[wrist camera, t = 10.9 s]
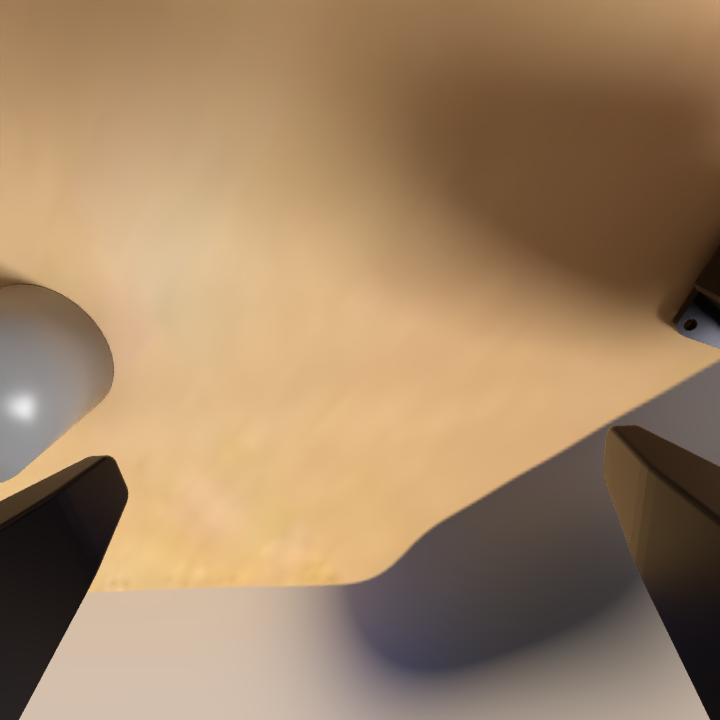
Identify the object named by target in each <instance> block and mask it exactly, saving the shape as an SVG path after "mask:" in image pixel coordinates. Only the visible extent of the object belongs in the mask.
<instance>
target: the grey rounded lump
mask: <svg viewBox="0 0 720 720" xmlns="http://www.w3.org/2000/svg"><path fill="white" fill-rule="evenodd" d="M113 376H114V363H113V358H112V354H111V351H110V348H109V345H108V343H107V341H106V339H105V337H104V335H103V333H102V332H101V330H100V329H99V327H98V326H97V325H96V323H95V322H94V321H93V320H92V319H91V317H90V316H89V315H88V314H87V313H86V312H85V311H83V310H82V309H81V308H80V307H79V306H78V305H76V304H75V303H74V302H72V301H71V300H69V299H68V298H66V297H64V296H63V295H61V294H59V293H56V292H54V291H52V290H49V289H46V288H43V287H39V286H35V285H27V284H17V285H10V286H5V287H3V288H0V483H1V482H4V481H7V480H9V479H11V478H13V477H14V476H16V475H17V474H18V473H20V472H21V471H22V470H23V469H24V468H25V467H27V466H28V465H29V464H30V463H31V462H32V461H33V460H35V459H36V458H37V457H38V456H39V455H40V454H41V453H43V452H44V451H45V450H46V449H47V448H48V447H50V446H51V445H52V444H53V443H54V442H55V441H56V440H58V439H59V438H60V437H61V436H62V435H63V434H65V433H66V432H67V431H68V430H69V429H70V428H71V427H73V426H74V425H75V424H76V423H77V422H78V421H79V420H81V419H82V418H83V417H84V416H85V415H86V414H88V413H89V412H90V411H91V410H92V409H93V408H94V407H96V406H97V405H98V404H99V403H100V402H101V401H102V400H103V399H104V398H105V397H106V395H107V394H108V392H109V390H110V388H111V385H112V382H113Z"/></svg>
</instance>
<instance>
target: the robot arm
mask: <svg viewBox="0 0 720 720" xmlns="http://www.w3.org/2000/svg"><path fill="white" fill-rule="evenodd" d="M690 319H692V323H691V324H690V325H689V326H687V327H684V323H685V322H686V321H687V320H690ZM672 324H673V328H674V330H676V331H677V332H678V333H679V334H681V335H683V336H685V337H688V338H691V339H694V340H696V341H699V342H702V343H705V344H708V345H711V346H713V347H716V348H719V349H720V246H719V248H718V249H717V251H716V252H715V254H714V255H713V257H712V258H711V260H710V261H709V263H708V264H707V265H706V267H705V268H704V270H703V271H702V273H701V274H700V276H699V277H698V279H697V280H696V286H695V288H694V289H693V290H692V292H691V293H690V295H689V296H688V298H687V299H686V301H685V302H684V304H683V305H682V307H681V308H680V310H679V311H678V313H677V314H676V316H675V317H674V319H673V322H672ZM604 477H605V481H606V484H607V487H608V490H609V492H610V495H611V498H612V501H613V504H614V507H615V510H616V512H617V515H618V518H619V521H620V524H621V526H622V529H623V532H624V535H625V538H626V541H627V544H628V547H629V550H630V552H631V554H632V558H633V560H634V563H635V565H636V567H637V570H638V572H639V574H640V576H641V579H642V581H643V583H644V585H645V587H646V589H647V591H648V593H649V595H650V597H651V599H652V601H653V603H654V605H655V607H656V609H657V611H658V614H659V616H660V617H661V619H662V622H663V624H664V626H665V628H666V630H667V632H668V634H669V636H670V638H671V640H672V642H673V644H674V646H675V648H676V650H677V653H678V654H679V657H680V659H681V661H682V663H683V665H684V667H685V669H686V671H687V673H688V675H689V677H690V679H691V681H692V683H693V685H694V687H695V689H696V691H697V694H698V696H699V698H700V700H701V702H702V704H703V706H704V708H705V710H706V712H707V714H708V716H709V718H710V720H720V467H719V466H717V465H715V464H713V463H711V462H709V461H707V460H705V459H703V458H701V457H699V456H697V455H695V454H693V453H691V452H689V451H687V450H685V449H683V448H681V447H679V446H677V445H675V444H673V443H671V442H669V441H667V440H665V439H663V438H661V437H659V436H657V435H655V434H653V433H651V432H649V431H647V430H645V429H643V428H642V427H639V426H637V425H620V426H611V427H610V428H609V429H608V431H607V434H606V446H605V455H604ZM127 500H128V489H127V486H126V484H125V481H124V479H123V477H122V474H121V472H120V470H119V467H118V465H117V463H116V461H115V459H114V458H113V457H111V456H108V455H106V456H91V457H87V458H85V459H83V460H81V461H79V462H77V463H75V464H73V465H71V466H69V467H67V468H65V469H63V470H61V471H59V472H57V473H55V474H53V475H51V476H49V477H47V478H46V479H44V480H42V481H40V482H38V483H36V484H34V485H32V486H30V487H28V488H26V489H24V490H22V491H20V492H18V493H16V494H14V495H12V496H10V497H8V498H6V499H4V500H2V501H0V720H19V719H20V717H21V715H22V713H23V711H24V709H25V707H26V705H27V704H28V702H29V700H30V698H31V696H32V694H33V692H34V691H35V689H36V687H37V685H38V683H39V681H40V679H41V677H42V676H43V673H44V672H45V670H46V668H47V666H48V664H49V662H50V660H51V659H52V657H53V655H54V653H55V651H56V649H57V647H58V646H59V643H60V642H61V640H62V638H63V636H64V634H65V632H66V631H67V629H68V627H69V625H70V623H71V621H72V619H73V617H74V616H75V614H76V612H77V610H78V608H79V606H80V604H81V603H82V600H83V599H84V597H85V595H86V593H87V591H88V589H89V588H90V586H91V584H92V582H93V580H94V578H95V576H96V574H97V571H98V569H99V567H100V565H101V563H102V560H103V558H104V555H105V553H106V551H107V548H108V546H109V544H110V541H111V539H112V536H113V534H114V532H115V529H116V527H117V525H118V522H119V520H120V517H121V515H122V513H123V510H124V508H125V506H126V503H127Z"/></svg>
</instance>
